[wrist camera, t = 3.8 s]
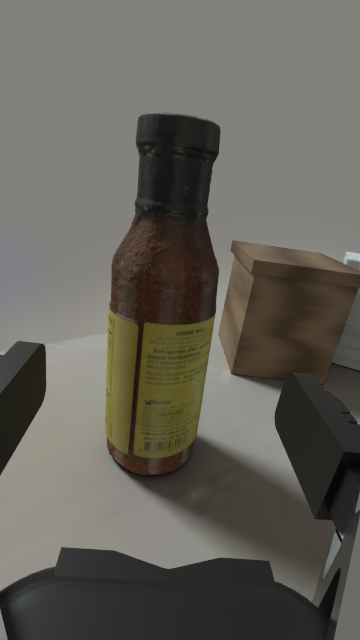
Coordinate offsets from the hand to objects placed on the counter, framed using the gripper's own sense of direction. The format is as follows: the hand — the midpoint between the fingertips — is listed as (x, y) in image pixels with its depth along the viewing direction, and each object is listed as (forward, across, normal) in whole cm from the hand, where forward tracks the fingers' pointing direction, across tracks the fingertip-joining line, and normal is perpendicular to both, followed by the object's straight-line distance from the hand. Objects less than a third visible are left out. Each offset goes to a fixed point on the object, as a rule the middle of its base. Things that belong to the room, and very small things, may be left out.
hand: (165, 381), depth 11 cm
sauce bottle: (+9, 0, +11) cm, 14 cm away
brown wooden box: (+25, -13, +11) cm, 30 cm away
